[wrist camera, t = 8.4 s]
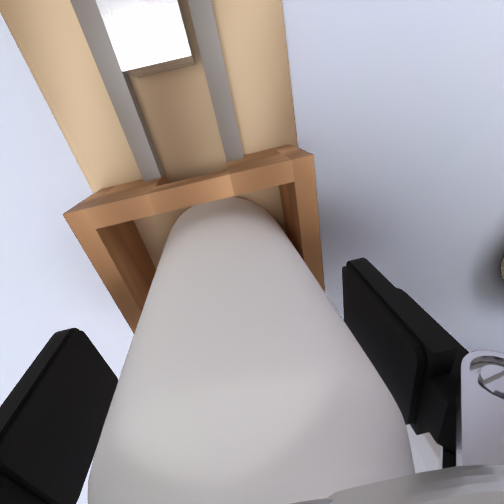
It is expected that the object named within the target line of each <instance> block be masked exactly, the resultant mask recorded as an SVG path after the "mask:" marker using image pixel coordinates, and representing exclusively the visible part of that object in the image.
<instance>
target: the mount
mask: <svg viewBox="0 0 504 504" xmlns="http://www.w3.org/2000/svg"><path fill="white" fill-rule="evenodd" d="M179 2H180V6H181V10H182V14H183V18H184V22H185V26H186V30H187V34H188V38H189V42H190V45H191V49H192V53H193V57H194V61H195V65H193V66H189V67H185V68H180V69H176V70H172V71H168V72H163V73H159V74H155V75H150V76H146V77H142V78H135V77H133V76H131V75H129V74H126V73H124V72H122V70H121V67H120V65H119V62H118V59H117V57H116V54H115V51H114V49H113V46H112V43H111V41H110V38H109V35H108V32H107V30H106V27H105V24H104V22H103V19H102V16H101V14H100V11H99V8H98V6H97V3H96V0H0V13H1V14H2V16H3V18H4V20H5V22H6V24H7V26H8V28H9V30H10V32H11V34H12V36H13V38H14V40H15V42H16V44H17V46H18V48H19V49H20V51H21V53H22V55H23V57H24V59H25V61H26V63H27V65H28V67H29V69H30V71H31V73H32V75H33V77H34V79H35V81H36V83H37V84H38V86H39V88H40V90H41V92H42V94H43V96H44V98H45V100H46V102H47V104H48V106H49V108H50V110H51V112H52V114H53V116H54V118H55V119H56V121H57V123H58V125H59V127H60V129H61V131H62V133H63V135H64V137H65V139H66V141H67V143H68V145H69V147H70V149H71V151H72V153H73V154H74V156H75V158H76V160H77V162H78V164H79V166H80V168H81V170H82V172H83V174H84V176H85V178H86V180H87V182H88V184H89V186H90V188H91V189H92V191H93V193H94V194H92V195H91V196H89V197H88V198H86V199H85V200H83V201H82V202H80V203H79V204H77V205H76V206H74V207H73V208H71V209H70V210H68V211H67V212H65V213H64V214H63V216H64V218H65V219H66V221H67V223H68V224H69V226H70V228H71V229H72V231H73V233H74V234H75V236H76V238H77V239H78V241H79V243H80V244H81V246H82V248H83V249H84V251H85V253H86V254H87V256H88V258H89V259H90V261H91V263H92V264H93V266H94V268H95V269H96V271H97V273H98V274H99V276H100V278H101V279H102V281H103V283H104V284H105V286H106V288H107V289H108V291H109V293H110V294H111V296H112V298H113V299H114V301H115V303H116V304H117V306H118V308H119V310H120V311H121V313H122V315H123V316H124V318H125V320H126V321H127V323H128V325H129V326H130V328H131V330H132V331H133V333H134V334H135V331H136V328H137V325H138V322H139V319H140V316H141V313H142V310H143V307H144V304H145V302H146V299H147V296H148V293H149V290H150V287H151V284H152V281H153V278H154V275H155V273H156V270H157V267H158V264H159V261H160V258H161V255H162V253H163V250H164V247H165V244H166V242H167V239H168V236H169V234H170V231H171V229H172V227H173V226H174V224H175V222H176V221H177V219H178V218H179V217H180V216H181V215H182V214H183V213H184V212H185V211H186V210H188V209H189V208H191V207H192V206H195V205H199V204H203V203H207V202H211V201H216V200H220V199H224V198H228V197H236V198H242V199H245V200H249V201H251V202H253V203H256V204H257V205H259V206H261V207H262V208H264V209H265V210H266V211H267V212H269V213H270V214H271V215H272V217H273V218H274V219H275V220H276V221H277V223H278V224H279V226H280V227H281V228H282V230H283V231H284V233H285V234H286V236H287V237H288V239H289V240H290V241H291V243H292V244H293V246H294V247H295V249H296V250H297V252H298V253H299V255H300V256H301V258H302V259H303V261H304V262H305V264H306V265H307V267H308V268H309V270H310V271H311V273H312V274H313V276H314V277H315V279H316V280H317V281H318V283H319V284H320V286H321V287H322V289H323V290H324V292H325V287H324V275H323V263H322V252H321V240H320V228H319V216H318V204H317V192H316V180H315V168H314V156H313V154H311V153H308V152H306V151H304V150H301V149H299V148H298V143H297V134H296V125H295V116H294V107H293V98H292V89H291V80H290V71H289V62H288V53H287V44H286V34H285V25H284V16H283V7H282V0H179Z"/></svg>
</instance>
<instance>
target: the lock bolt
mask: <svg viewBox="0 0 504 504" xmlns="http://www.w3.org/2000/svg"><path fill="white" fill-rule="evenodd" d="M96 3H97V6H98V8H99V11H100V14H101V16H102V19H103V22H104V24H105V27H106V30H107V32H108V35H109V38H110V41H111V43H112V46H113V49H114V51H115V54H116V57H117V59H118V62H119V65H120V67H121V70H122V72H124V73H126V74H129V75H131V76H133V77H135V78H142V77H146V76H150V75H155V74H159V73H163V72H168V71H172V70H176V69H180V68H185V67H189V66H193V65H195V61H194V57H193V53H192V49H191V45H190V42H189V38H188V34H187V30H186V26H185V22H184V18H183V14H182V10H181V6H180V2H179V0H96Z"/></svg>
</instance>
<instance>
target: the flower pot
mask: <svg viewBox="0 0 504 504" xmlns="http://www.w3.org/2000/svg"><path fill="white" fill-rule="evenodd" d="M501 275H502V277H503V280H504V257H503V260H502V263H501Z"/></svg>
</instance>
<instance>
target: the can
mask: <svg viewBox="0 0 504 504" xmlns="http://www.w3.org/2000/svg"><path fill="white" fill-rule="evenodd" d="M411 474H415V469H414V463H413V458H412V452H411V447H410V442H409V437H408V433H407V428H406V425H405V422H404V418H403V415H402V413H401V411H400V409H399V407H398V405H397V403H396V402H395V400H394V398H393V396H392V394H391V393H390V391H389V390H388V388H387V386H386V385H385V383H384V382H383V380H382V378H381V377H380V375H379V374H378V372H377V370H376V369H375V367H374V366H373V364H372V363H371V361H370V360H369V358H368V357H367V355H366V354H365V352H364V351H363V349H362V348H361V346H360V345H359V343H358V341H357V340H356V338H355V337H354V335H353V334H352V332H351V331H350V329H349V328H348V326H347V325H346V323H345V322H344V320H343V319H342V317H341V316H340V314H339V313H338V311H337V310H336V308H335V307H334V305H333V304H332V302H331V301H330V299H329V298H328V296H327V295H326V293H325V292H324V290H323V289H322V287H321V286H320V284H319V283H318V281H317V280H316V279H315V277H314V276H313V274H312V273H311V271H310V270H309V268H308V267H307V265H306V264H305V262H304V261H303V259H302V258H301V256H300V255H299V253H298V252H297V250H296V249H295V247H294V246H293V244H292V243H291V241H290V240H289V239H288V237H287V236H286V234H285V233H284V231H283V230H282V228H281V227H280V226H279V224H278V223H277V221H276V220H275V219H274V218H273V217H272V215H271V214H270V213H269V212H267V211H266V210H265V209H264V208H262V207H261V206H259V205H257V204H256V203H253V202H251V201H249V200H245V199H242V198H236V197H228V198H224V199H220V200H216V201H211V202H207V203H203V204H199V205H195V206H192V207H191V208H189V209H188V210H186V211H185V212H184V213H183V214H182V215H181V216H180V217H179V218H178V219H177V221H176V222H175V224H174V226H173V227H172V229H171V231H170V234H169V236H168V239H167V242H166V244H165V247H164V250H163V253H162V255H161V258H160V261H159V264H158V267H157V270H156V273H155V275H154V278H153V281H152V284H151V287H150V290H149V293H148V296H147V299H146V302H145V304H144V307H143V310H142V313H141V316H140V319H139V322H138V325H137V328H136V331H135V334H134V337H133V340H132V342H131V345H130V348H129V351H128V354H127V357H126V360H125V363H124V366H123V369H122V372H121V375H120V378H119V381H118V384H117V387H116V390H115V393H114V396H113V399H112V402H111V405H110V408H109V411H108V414H107V417H106V420H105V423H104V426H103V429H102V432H101V436H100V439H99V442H98V445H97V449H96V452H95V455H94V459H93V463H92V467H91V472H90V476H89V481H88V504H330V503H331V502H332V501H333V499H327V498H328V497H329V496H330V495H332V494H334V493H335V492H337V491H341V490H345V489H349V488H353V487H357V486H362V485H366V484H371V483H375V482H380V481H384V480H389V479H393V478H398V477H402V476H407V475H411Z"/></svg>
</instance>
